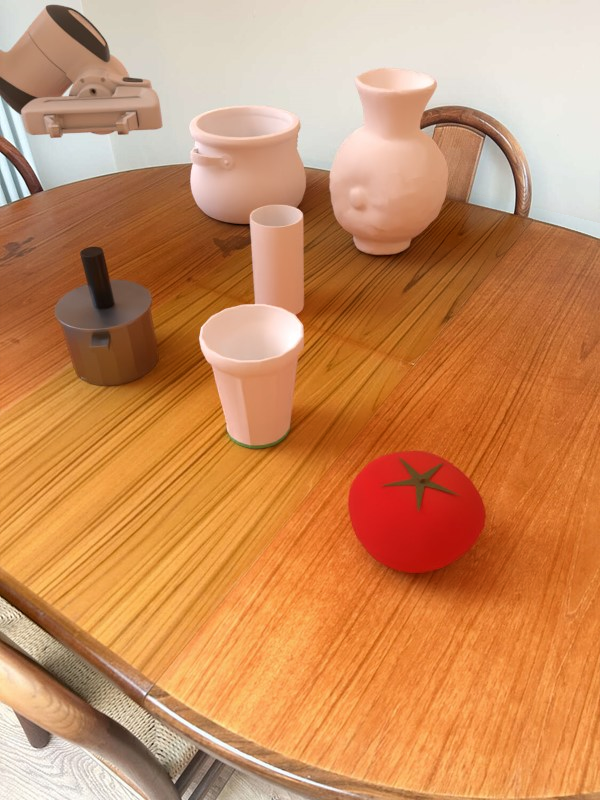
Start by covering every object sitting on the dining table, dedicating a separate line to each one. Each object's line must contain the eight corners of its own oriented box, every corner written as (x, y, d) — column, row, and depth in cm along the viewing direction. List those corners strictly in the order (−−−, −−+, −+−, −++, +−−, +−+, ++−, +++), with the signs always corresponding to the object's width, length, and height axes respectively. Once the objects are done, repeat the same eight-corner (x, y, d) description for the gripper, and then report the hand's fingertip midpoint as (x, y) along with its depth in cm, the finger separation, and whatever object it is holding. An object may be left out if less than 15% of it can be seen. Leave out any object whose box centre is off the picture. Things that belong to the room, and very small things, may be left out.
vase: (412, 279, 117) (433, 101, 97) (309, 251, 125) (309, 82, 106) (452, 239, 129) (476, 73, 109) (355, 215, 137) (363, 58, 118)
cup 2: (294, 391, 93) (292, 297, 83) (314, 451, 83) (315, 354, 74) (206, 404, 91) (194, 309, 81) (217, 467, 81) (204, 369, 72)
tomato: (324, 553, 71) (325, 488, 64) (377, 479, 80) (383, 414, 73) (448, 614, 65) (464, 549, 59) (491, 527, 74) (509, 462, 67)
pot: (260, 174, 156) (256, 95, 145) (332, 204, 142) (334, 120, 131) (168, 205, 143) (155, 121, 131) (237, 242, 129) (230, 152, 117)
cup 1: (274, 288, 115) (271, 200, 105) (313, 302, 111) (313, 212, 101) (245, 308, 110) (238, 218, 100) (284, 324, 106) (281, 232, 96)
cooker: (66, 401, 92) (49, 346, 85) (82, 331, 105) (68, 278, 99) (156, 393, 93) (145, 338, 87) (160, 324, 106) (151, 272, 100)
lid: (49, 340, 88) (30, 280, 82) (63, 289, 98) (48, 232, 92) (150, 331, 89) (139, 272, 83) (154, 282, 99) (144, 226, 93)
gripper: (25, 84, 101) (6, 110, 90) (160, 79, 103) (156, 104, 92) (36, 126, 105) (19, 156, 94) (165, 120, 107) (162, 149, 96)
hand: (88, 130), depth 93 cm, fingers open, 8 cm apart
